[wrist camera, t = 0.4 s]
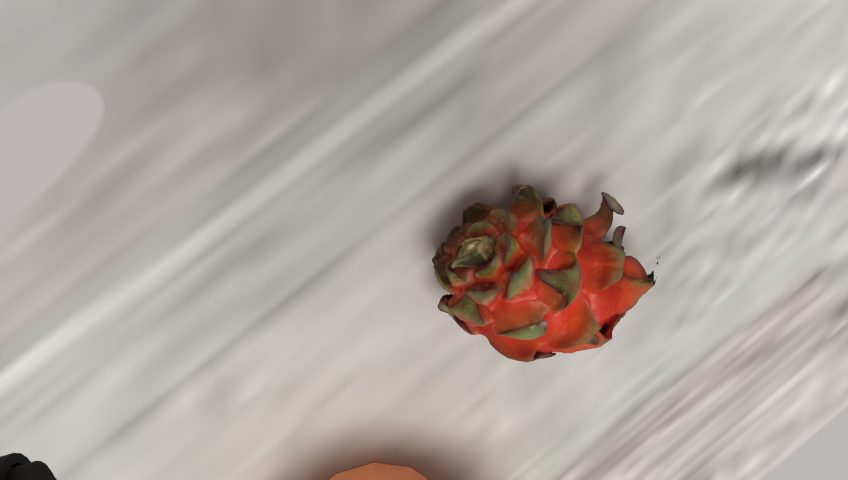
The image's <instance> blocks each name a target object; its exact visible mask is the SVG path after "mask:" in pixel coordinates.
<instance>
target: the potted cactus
mask: <svg viewBox="0 0 848 480" xmlns="http://www.w3.org/2000/svg"><path fill="white" fill-rule="evenodd" d="M329 480H428V479H427V478H426V477H424V476H423V475H421V474H420V473H418V472H417V471H416V470H414V469H413V468H411V467H407V466H399V465H390V464H382V463H370V464H367V465H363V466H360V467H357V468H353V469H350V470H347V471H343V472H340V473H337V474H335V475H334V476H333V477H332V478H331V479H329Z"/></svg>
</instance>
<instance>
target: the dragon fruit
mask: <svg viewBox="0 0 848 480" xmlns="http://www.w3.org/2000/svg"><path fill="white" fill-rule="evenodd" d="M512 193H513V195H514V196H516V197H515V199H514V200H513V202H512V204H511V206H510V207H509V208H508V210H507V209H503V208H497V207H496V206H493V205H489V204H481V203H475V204H473V205H471V206H469V207H468V208H466V209H464V211H463V224H462V226H457V227H454V228H453V229H452V230H451V232H450V233H449V235H448V237H447V241H446V243H442V244H441V246H440V247H439V249H437V251H436V254H435V256H434V258H433V259H432V262H433V263H434V265H435V266H434V268H435V275H436V277H437V280H438V281H439V283H440V285H441V286H442V287H443V288H444V289H445V290H447V291H449V292H451V293H454V295H452V294H450V295H444V296H443V297H442V298H441V299H440V302H439V304H438V309H439V310H441V311H444V312H445V313H448V314H449V315H450V316H451V317H452V318H453V319H454V320H455V321H456V323H457V324H458V325H459V326H460V327H461V328H462V329H463V330H464V331H466V332H467V333H469V334H471V335H476V334H482V335H484V336H486V337H487V338H488V340H489V342H490V344H491V345H492V346H493V347H494V348H495V349H496V350H497V351H498V352H500V353H501V354H502V355H504V356H506V357H507V358H509V359H513V360H517V361H523V362H530V361H534V360H536V359H540V358H548V357H552V356H554V355H556V353H552V352H562V353H573V352H576V351H582V350H587V349H592V348H598V347H601V346H602V345H603V344H605V343H606V342H608V341H609V340H611V339H612V331H613V329H614V327H615V326H616V324H617V323H618V322H619V321H620V319H621V318H622V317H624V316H625V313H626V312H627V311H628V310H629V309H631V308H632V307H633V306H634V305H635V304H636V303H637V301H638V300H639V298H640V297H641V296H642V295H643V294H645V293H646V292H647V291H648V290H649V289H650V288H652V287H653V286H654V284H655V282H656V280H655V281H654V272H653V271H654V270H653V271H652V273H651V274H650V275H647V274H646V272H645V269H644V268H643V266H642V265H641V264H640V262H639V261H638V260H637V259H635V258H634V257H633V256H625V252H624V247H623V246H621V244H622V239H623V235H624V232H625V229H626V227H623V226H619V227H617V228H616V229H615V231H614V234H613V241H609V242H604V241H601V239H602V238H603V237H605V235H606V233H607V231H608V230H609V228H610V227H611V225H612V221H613V211H614V212H616V213H617V214H621V215H623V214H624V210H623V208H622V207H621V205H620V204H619V203H618V202H617V201H616V199H614V198H613V197H612V196H610V195H609V194H607V193H604V192H602V193H601V194H602V196H603V198H602V203H601V207H600V208H599V211H598V212H597V213H596V214H594V215H593V216H591V217H588V218H585V219H583V220H582V217H581V215H580V213H579V211H578V208H577V206H576V205H575V204H572V203H569V204H563V205H561V206H559V207H558V208H557V204H556V202H555V200H554V199H553V198H546V197H545V198H543V199H540V197H539V196H538V194H537V193H536V191H535V190H534V188H533V187H531V186H530V185H516V186H513V187H512ZM659 257H660V256H659ZM657 264H658V262H657ZM656 278H657V277H656Z"/></svg>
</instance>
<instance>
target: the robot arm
mask: <svg viewBox="0 0 848 480" xmlns="http://www.w3.org/2000/svg"><path fill="white" fill-rule="evenodd" d="M0 480H56V478H55V477H54V475H53V473H52V472H51V470H50V469H49V468H48V466H47V465H46V464H45V463H43V462H42V461H34V462H30V461H29V459H28V458H27V457H25V456H24V455H22V454H21V453H12V454H8V455H5V456H1V457H0Z"/></svg>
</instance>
